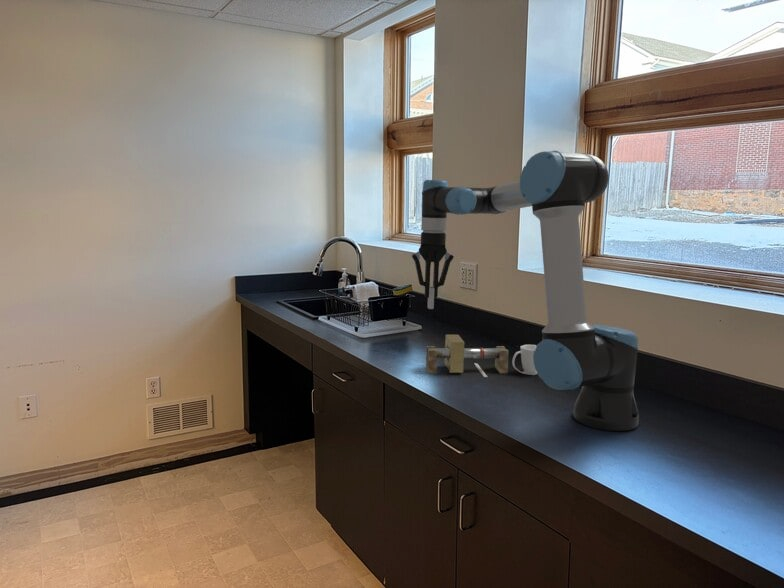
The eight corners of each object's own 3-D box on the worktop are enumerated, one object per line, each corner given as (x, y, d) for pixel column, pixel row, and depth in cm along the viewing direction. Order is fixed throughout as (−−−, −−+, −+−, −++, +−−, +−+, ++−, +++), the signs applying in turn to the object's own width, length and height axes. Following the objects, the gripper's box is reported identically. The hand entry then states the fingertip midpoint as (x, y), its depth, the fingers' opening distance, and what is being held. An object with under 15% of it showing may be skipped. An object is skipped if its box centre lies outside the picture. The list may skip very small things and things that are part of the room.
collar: (457, 363, 190) (458, 334, 188) (463, 372, 181) (464, 342, 179) (444, 363, 190) (445, 334, 188) (449, 372, 180) (451, 342, 179)
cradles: (502, 367, 190) (503, 345, 189) (507, 373, 184) (508, 351, 183) (425, 367, 188) (426, 345, 186) (428, 373, 182) (429, 351, 180)
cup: (546, 375, 183) (548, 349, 182) (518, 378, 179) (520, 351, 178) (533, 368, 189) (534, 343, 188) (505, 371, 186) (507, 346, 184)
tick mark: (477, 363, 193) (477, 363, 193) (487, 377, 179) (487, 376, 179) (474, 363, 193) (474, 363, 193) (484, 377, 179) (484, 376, 179)
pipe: (503, 356, 188) (504, 346, 187) (506, 360, 184) (507, 349, 184) (427, 357, 186) (427, 346, 185) (429, 360, 182) (429, 349, 182)
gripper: (452, 231, 186) (449, 305, 190) (410, 230, 185) (408, 305, 189) (457, 233, 179) (453, 310, 183) (413, 232, 178) (411, 310, 182)
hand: (430, 307), depth 186 cm, fingers closed
